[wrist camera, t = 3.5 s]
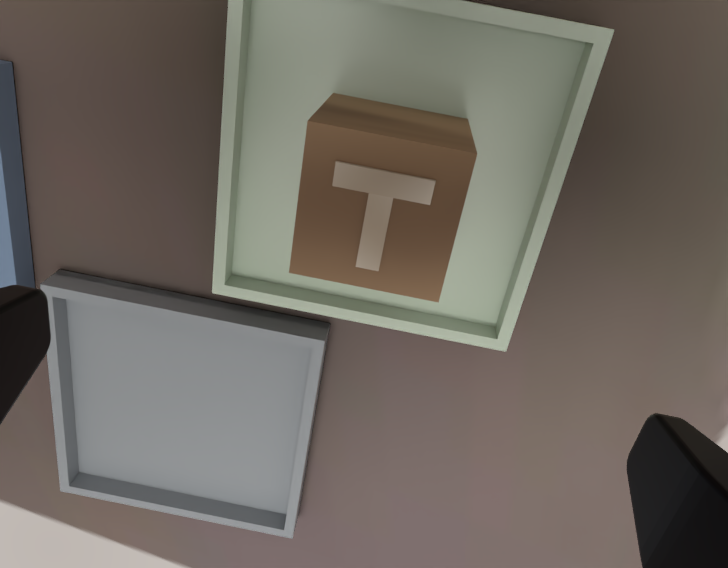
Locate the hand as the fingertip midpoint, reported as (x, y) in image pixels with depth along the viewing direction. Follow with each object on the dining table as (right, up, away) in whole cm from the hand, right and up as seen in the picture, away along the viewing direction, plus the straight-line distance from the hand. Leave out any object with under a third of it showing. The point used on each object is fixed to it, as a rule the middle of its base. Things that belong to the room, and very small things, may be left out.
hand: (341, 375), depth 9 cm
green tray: (+1, +5, +10) cm, 11 cm away
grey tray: (-7, -3, +15) cm, 17 cm away
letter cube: (+1, +5, +9) cm, 11 cm away
